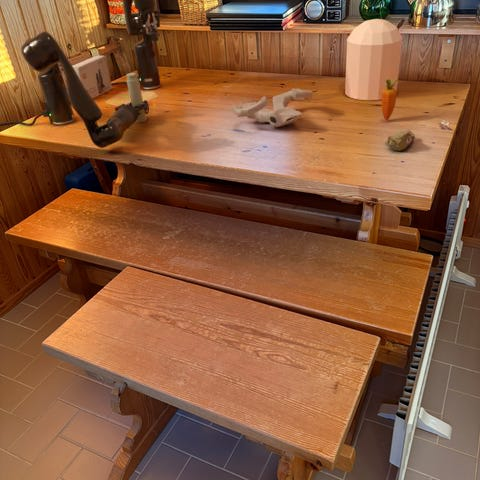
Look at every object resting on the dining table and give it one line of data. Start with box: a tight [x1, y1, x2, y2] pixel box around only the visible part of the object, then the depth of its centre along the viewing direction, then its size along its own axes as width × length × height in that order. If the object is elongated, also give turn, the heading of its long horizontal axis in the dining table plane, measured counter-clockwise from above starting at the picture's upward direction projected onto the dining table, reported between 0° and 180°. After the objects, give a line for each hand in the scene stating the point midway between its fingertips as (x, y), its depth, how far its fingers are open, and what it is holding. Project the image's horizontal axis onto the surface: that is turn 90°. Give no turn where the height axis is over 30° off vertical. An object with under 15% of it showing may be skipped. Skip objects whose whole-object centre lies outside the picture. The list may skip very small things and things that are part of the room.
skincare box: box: [72, 54, 113, 100], centre depth 218 cm, size 21×6×16 cm, turn 158°
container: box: [344, 18, 403, 101], centre depth 185 cm, size 21×21×28 cm
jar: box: [125, 72, 148, 123], centre depth 183 cm, size 5×5×18 cm
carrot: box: [380, 79, 398, 122], centre depth 161 cm, size 5×5×15 cm
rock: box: [387, 129, 416, 152], centre depth 146 cm, size 11×6×10 cm
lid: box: [148, 32, 159, 42], centre depth 178 cm, size 5×5×2 cm
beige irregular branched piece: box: [231, 88, 314, 128], centre depth 171 cm, size 28×26×12 cm
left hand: (139, 102), depth 187 cm, fingers closed on jar, 4 cm apart
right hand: (151, 42), depth 179 cm, fingers closed on lid, 5 cm apart
